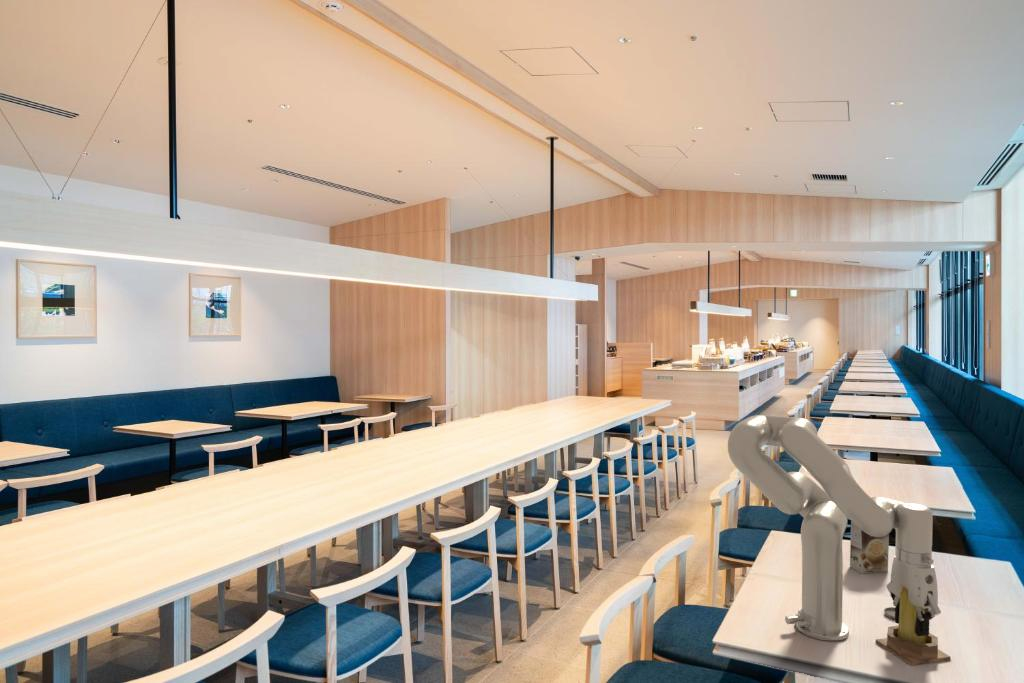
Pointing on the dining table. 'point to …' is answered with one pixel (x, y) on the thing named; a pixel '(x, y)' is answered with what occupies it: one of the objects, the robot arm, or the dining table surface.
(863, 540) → the coffee box
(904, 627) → the vase
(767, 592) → the dining table surface
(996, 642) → the dining table surface
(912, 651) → the collar
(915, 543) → the robot arm
